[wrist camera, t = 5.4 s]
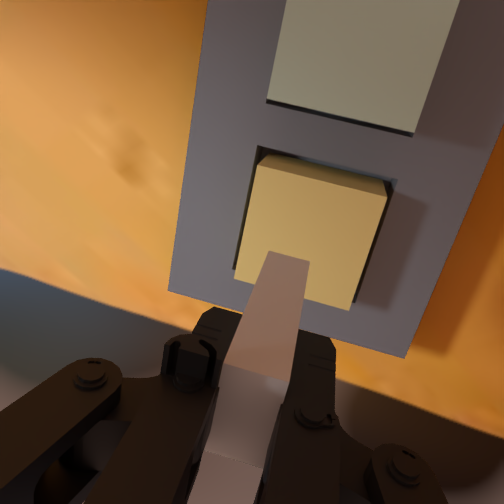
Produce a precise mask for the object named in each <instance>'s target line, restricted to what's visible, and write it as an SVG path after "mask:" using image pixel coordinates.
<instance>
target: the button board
mask: <svg viewBox="0 0 504 504" xmlns="http://www.w3.org/2000/svg"><path fill="white" fill-rule="evenodd" d="M286 1H287V0H208V5H207V12H206V19H205V26H204V33H203V41H202V48H201V55H200V62H199V69H198V77H197V84H196V91H195V98H194V105H193V113H192V120H191V127H190V134H189V141H188V148H187V156H186V163H185V170H184V177H183V184H182V192H181V199H180V206H179V213H178V220H177V228H176V235H175V242H174V249H173V256H172V264H171V271H170V278H169V285H168V291H170V292H174V293H177V294H181V295H184V296H188V297H191V298H195V299H198V300H202V301H205V302H209V303H212V304H215V305H219V306H222V307H226V308H229V309H233V310H236V311H240V312H243V313H244V310H245V308H246V305H247V303H248V301H249V298H250V296H251V293H252V291H253V288H254V286H255V284H251V283H247V282H244V281H240V280H237V279H234V275H235V270H236V265H237V261H238V256H239V251H240V246H241V241H242V236H243V232H244V227H245V222H246V217H247V212H248V207H249V203H250V198H251V193H252V188H253V183H254V178H255V174H256V169H257V165H258V164H259V163H260V162H261V161H262V160H263V159H264V158H265V157H266V156H267V155H268V154H269V153H270V152H271V153H275V154H279V155H283V156H287V157H291V158H295V159H299V160H303V161H308V162H312V163H316V164H320V165H324V166H328V167H332V168H336V169H340V170H344V171H348V172H352V173H357V174H361V175H365V176H369V177H373V178H377V179H381V180H383V184H384V187H385V191H386V194H387V200H386V203H385V206H384V209H383V212H382V215H381V218H380V221H379V224H378V227H377V229H376V232H375V235H374V238H373V241H372V244H371V247H370V250H369V253H368V256H367V259H366V262H365V265H364V268H363V271H362V274H361V276H360V279H359V282H358V285H357V288H356V291H355V294H354V297H353V300H352V303H351V306H350V309H349V311H348V310H344V309H340V308H337V307H333V306H330V305H326V304H323V303H319V302H315V301H312V300H308V299H305V298H304V300H303V305H302V311H301V317H300V323H299V329H302V330H306V331H309V332H313V333H316V334H320V335H323V336H327V337H330V338H334V339H337V340H341V341H344V342H348V343H351V344H355V345H358V346H362V347H365V348H369V349H372V350H376V351H379V352H383V353H386V354H389V355H393V356H396V357H400V358H403V359H404V358H405V356H406V354H407V351H408V349H409V347H410V344H411V342H412V339H413V337H414V335H415V332H416V330H417V328H418V325H419V323H420V321H421V318H422V316H423V313H424V311H425V309H426V306H427V304H428V302H429V299H430V297H431V295H432V292H433V290H434V287H435V285H436V283H437V280H438V278H439V276H440V273H441V271H442V269H443V266H444V264H445V261H446V259H447V257H448V254H449V252H450V250H451V247H452V245H453V243H454V240H455V238H456V235H457V233H458V231H459V228H460V226H461V224H462V221H463V219H464V217H465V214H466V212H467V209H468V207H469V205H470V202H471V200H472V198H473V195H474V193H475V191H476V188H477V186H478V183H479V181H480V179H481V176H482V174H483V172H484V169H485V167H486V165H487V162H488V160H489V157H490V155H491V153H492V150H493V148H494V146H495V143H496V141H497V139H498V136H499V134H500V131H501V129H502V127H503V124H504V0H460V1H459V4H458V7H457V10H456V13H455V16H454V19H453V22H452V24H451V27H450V30H449V33H448V36H447V39H446V42H445V45H444V48H443V51H442V53H441V56H440V59H439V62H438V65H437V68H436V71H435V74H434V77H433V80H432V83H431V85H430V88H429V91H428V94H427V97H426V100H425V103H424V106H423V109H422V112H421V114H420V117H419V120H418V123H417V126H416V129H415V132H414V133H413V132H409V131H404V130H400V129H396V128H391V127H387V126H383V125H378V124H374V123H370V122H366V121H361V120H357V119H353V118H348V117H344V116H340V115H335V114H331V113H327V112H322V111H318V110H314V109H309V108H305V107H301V106H296V105H292V104H288V103H284V102H279V101H275V100H271V99H267V95H268V90H269V85H270V80H271V75H272V70H273V65H274V60H275V55H276V51H277V46H278V41H279V36H280V31H281V26H282V21H283V16H284V11H285V6H286Z"/></svg>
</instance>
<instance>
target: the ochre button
mask: <svg viewBox="0 0 504 504" xmlns="http://www.w3.org/2000/svg"><path fill="white" fill-rule="evenodd" d="M386 200H387V194H386V191H385V187H384V184H383V180H381V179H377V178H373V177H369V176H365V175H361V174H357V173H352V172H348V171H344V170H340V169H336V168H332V167H328V166H324V165H320V164H316V163H312V162H308V161H303V160H299V159H295V158H291V157H287V156H283V155H279V154H275V153H271V152H270V153H269V154H268V155H267V156H266V157H265V158H264V159H263V160H262V161H261V162H260V163H259V164H258V165H257V169H256V174H255V178H254V183H253V188H252V193H251V198H250V203H249V207H248V212H247V217H246V222H245V227H244V232H243V236H242V241H241V246H240V251H239V256H238V261H237V265H236V270H235V275H234V279H237V280H240V281H244V282H247V283H251V284H255V283H256V281H257V278H258V276H259V273H260V271H261V268H262V266H263V264H264V261H265V259H266V256H267V254H268V251H272V252H276V253H280V254H284V255H288V256H291V257H295V258H299V259H303V260H307V261H310V265H309V270H308V276H307V282H306V288H305V294H304V298H305V299H308V300H312V301H315V302H319V303H323V304H326V305H330V306H333V307H337V308H340V309H344V310H348V311H349V309H350V306H351V303H352V300H353V297H354V294H355V291H356V288H357V285H358V282H359V279H360V276H361V274H362V271H363V268H364V265H365V262H366V259H367V256H368V253H369V250H370V247H371V244H372V241H373V238H374V235H375V232H376V229H377V227H378V224H379V221H380V218H381V215H382V212H383V209H384V206H385V203H386Z"/></svg>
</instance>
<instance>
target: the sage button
mask: <svg viewBox="0 0 504 504" xmlns="http://www.w3.org/2000/svg"><path fill="white" fill-rule="evenodd" d="M459 1H460V0H287V1H286V6H285V11H284V16H283V21H282V26H281V31H280V36H279V41H278V46H277V51H276V55H275V60H274V65H273V70H272V75H271V80H270V85H269V90H268V95H267V99H271V100H275V101H279V102H284V103H288V104H292V105H296V106H301V107H305V108H309V109H314V110H318V111H322V112H327V113H331V114H335V115H340V116H344V117H348V118H353V119H357V120H361V121H366V122H370V123H374V124H378V125H383V126H387V127H391V128H396V129H400V130H404V131H409V132H413V133H414V132H415V129H416V126H417V123H418V120H419V117H420V114H421V112H422V109H423V106H424V103H425V100H426V97H427V94H428V91H429V88H430V85H431V83H432V80H433V77H434V74H435V71H436V68H437V65H438V62H439V59H440V56H441V53H442V51H443V48H444V45H445V42H446V39H447V36H448V33H449V30H450V27H451V24H452V22H453V19H454V16H455V13H456V10H457V7H458V4H459Z"/></svg>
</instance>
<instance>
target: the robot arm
mask: <svg viewBox="0 0 504 504" xmlns="http://www.w3.org/2000/svg"><path fill="white" fill-rule="evenodd" d="M309 265H310V261H307V260H303V259H299V258H295V257H291V256H288V255H284V254H280V253H276V252H272V251H268V254H267V256H266V259H265V261H264V264H263V266H262V268H261V271H260V273H259V276H258V278H257V281H256V283H255V286H254V288H253V291H252V293H251V296H250V298H249V301H248V303H247V305H246V308H245V310H244V313H243V315H242V314H239V313H235V312H232V311H228V310H224V309H221V308H217V307H213V308H211V309H209V310H208V311H206V312H204V313H203V314H202V315H201V317H200V319H199V321H198V322H197V325H196V326H195V328H194V330H193V331H192V334H187V335H186V334H185V335H179V336H176V337H173V338H171V339H170V340H169V341H168V342H166V343H165V345H164V352H163V360H162V367H161V373H160V375H158V376H155V377H150V378H123V377H122V373H121V371H120V368H119V367H118V366H117V365H115V364H114V363H113V362H111V361H108V360H105V359H102V358H86V359H81V360H77V361H75V362H73V363H71V364H69V365H67V366H66V367H64V368H63V369H62V370H60V371H58V372H57V373H55V374H54V375H52V376H51V377H50V378H48V379H47V380H45V381H44V382H42V383H41V384H39V385H38V386H37V387H35V388H34V389H32V390H31V391H29V392H28V393H27V394H25V395H24V396H22V397H21V398H19V399H18V400H16V401H15V402H13V403H12V404H11V405H9V406H8V407H6V408H5V409H3V410H2V411H0V504H82V503H83V502H84V501H85V502H84V504H187V501H188V499H189V496H190V493H191V490H192V487H193V485H194V482H195V479H196V476H197V473H198V470H199V466H200V462H201V457H202V453H203V450H204V448H205V451H207V452H210V453H214V454H217V455H220V456H224V457H227V458H230V459H233V460H236V461H240V462H243V463H246V464H249V465H252V466H256V467H259V468H263V474H262V477H261V480H260V484H259V487H258V490H257V493H256V497H255V500H254V503H253V504H448V502H447V499H446V497H445V495H444V493H443V491H442V489H441V487H440V485H439V483H438V480H437V478H436V476H435V474H434V473H433V471H432V469H431V468H430V466H429V465H428V463H427V462H426V461H425V460H424V459H422V458H421V457H420V456H419V455H418V454H417V453H415V452H414V451H412V450H410V449H408V448H406V447H404V446H401V445H396V444H382V445H380V446H379V447H377V448H375V450H374V451H373V450H371V449H370V448H368V447H366V446H364V445H363V444H361V443H359V442H358V441H356V440H355V439H353V438H352V437H350V436H349V435H348V434H347V433H346V432H345V431H344V430H343V429H342V427H341V426H340V423H339V419H338V416H337V415H336V414H335V410H334V409H335V406H334V405H335V371H336V364H335V362H336V349H335V347H334V345H333V343H332V341H331V339H330V338H329V337H326V336H323V335H319V334H315V333H312V332H308V331H305V330H301V329H299V323H300V317H301V311H302V305H303V300H304V294H305V288H306V282H307V276H308V270H309Z"/></svg>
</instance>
